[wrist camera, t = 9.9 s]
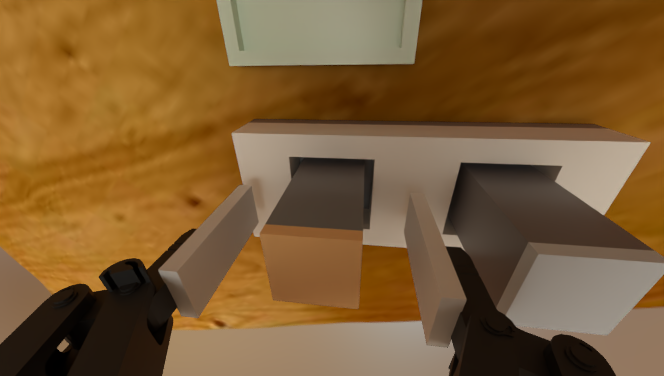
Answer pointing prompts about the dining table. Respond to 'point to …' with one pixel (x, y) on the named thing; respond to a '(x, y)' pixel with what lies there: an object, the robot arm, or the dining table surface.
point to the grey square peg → (548, 250)
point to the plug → (317, 235)
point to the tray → (320, 31)
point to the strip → (430, 162)
